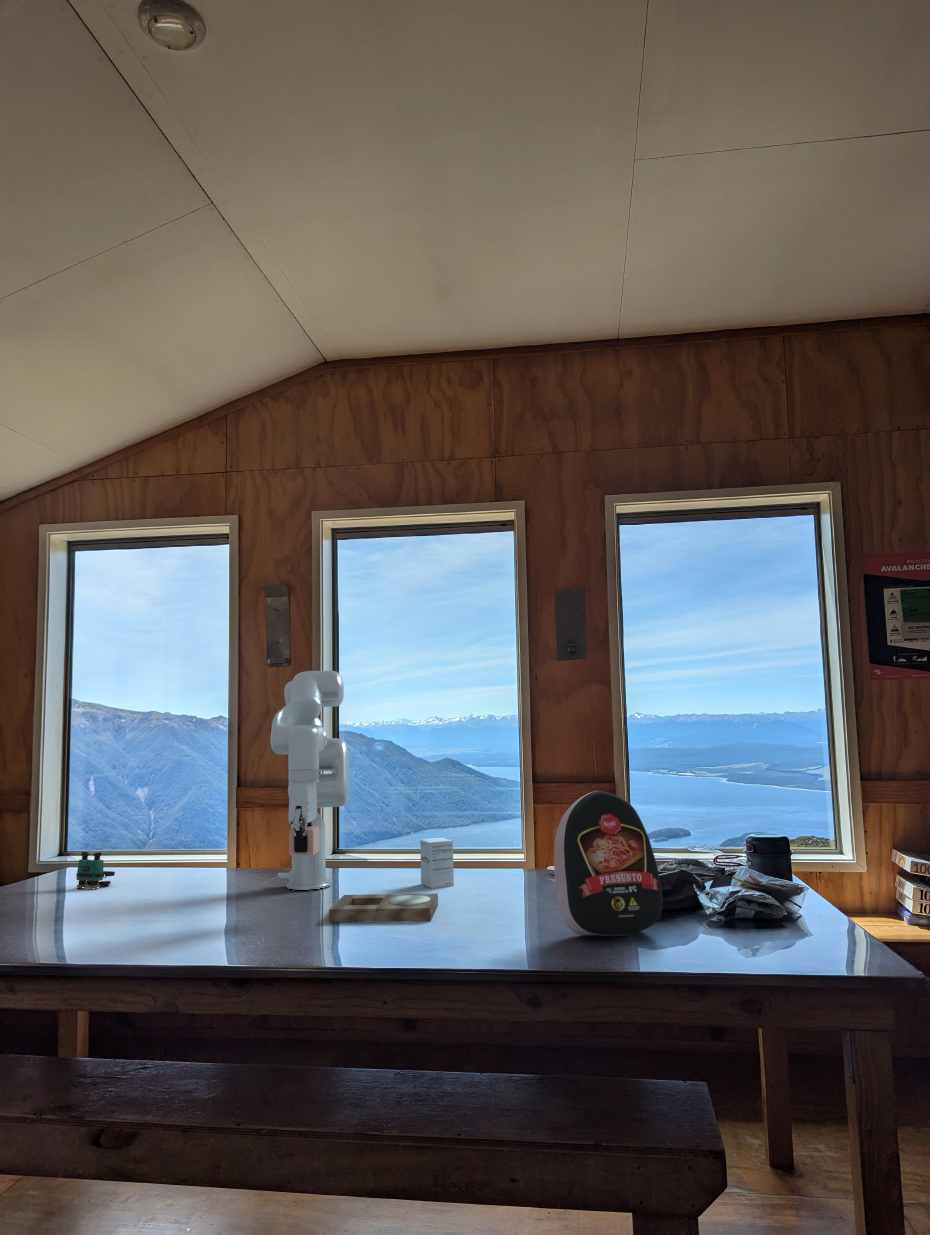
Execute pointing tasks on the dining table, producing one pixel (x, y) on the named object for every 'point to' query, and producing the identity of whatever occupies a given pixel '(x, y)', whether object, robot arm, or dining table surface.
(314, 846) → the block
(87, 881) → the green boxy piece
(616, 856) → the packaged food
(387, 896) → the hole platform
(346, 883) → the dining table surface
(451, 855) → the supplement box
